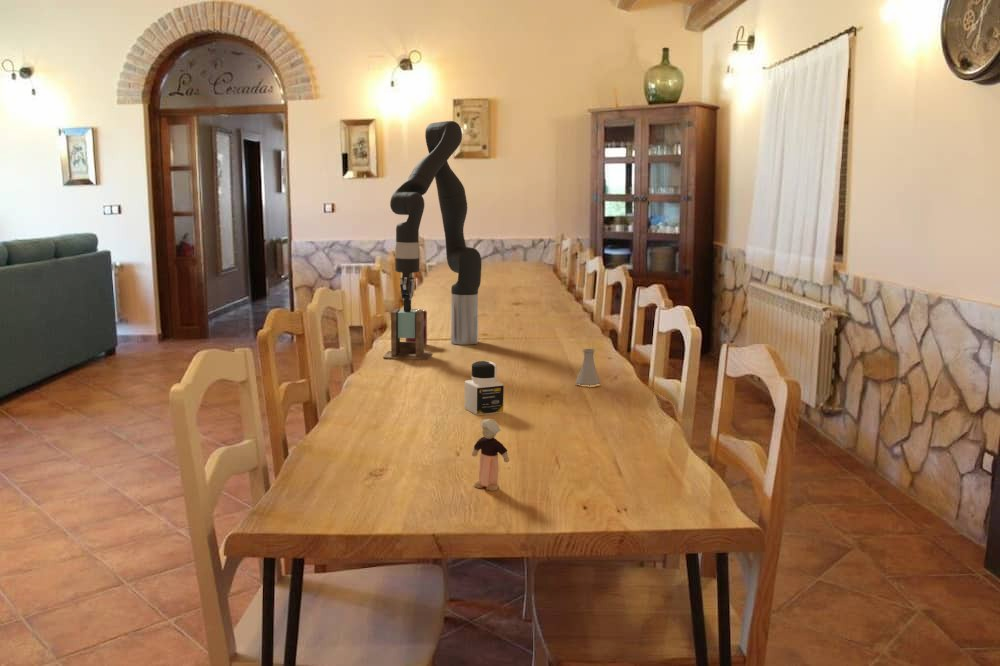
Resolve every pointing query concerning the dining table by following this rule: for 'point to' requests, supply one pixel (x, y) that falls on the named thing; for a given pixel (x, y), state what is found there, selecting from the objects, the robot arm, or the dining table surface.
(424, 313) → the soda can
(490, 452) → the grandmother figurine
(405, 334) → the block
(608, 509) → the dining table surface
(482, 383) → the medicine bottle
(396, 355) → the brown wooden holder
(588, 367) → the flask
